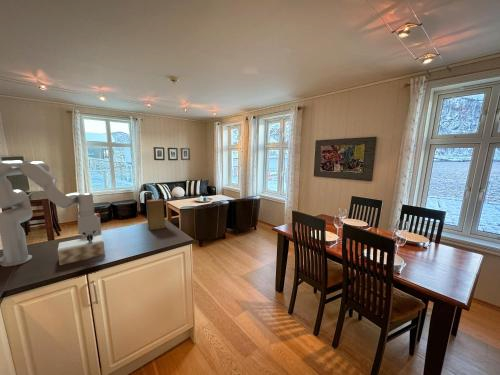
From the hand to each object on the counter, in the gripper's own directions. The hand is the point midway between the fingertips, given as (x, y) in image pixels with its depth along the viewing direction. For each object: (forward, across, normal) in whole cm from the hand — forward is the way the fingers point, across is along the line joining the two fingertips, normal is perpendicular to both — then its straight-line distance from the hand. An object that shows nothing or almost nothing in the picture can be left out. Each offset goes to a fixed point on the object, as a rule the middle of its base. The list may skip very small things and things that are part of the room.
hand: (90, 241), depth 136 cm
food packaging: (+10, +48, +30) cm, 57 cm away
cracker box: (+10, +2, +22) cm, 24 cm away
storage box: (+10, -4, +3) cm, 11 cm away
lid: (+2, -4, +3) cm, 6 cm away
